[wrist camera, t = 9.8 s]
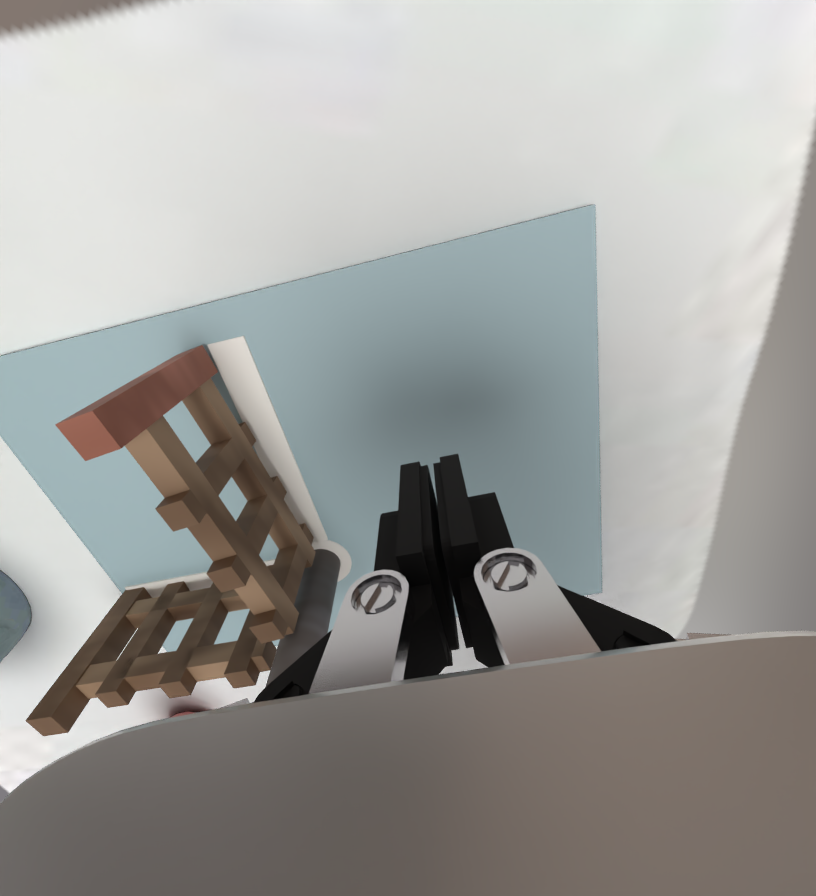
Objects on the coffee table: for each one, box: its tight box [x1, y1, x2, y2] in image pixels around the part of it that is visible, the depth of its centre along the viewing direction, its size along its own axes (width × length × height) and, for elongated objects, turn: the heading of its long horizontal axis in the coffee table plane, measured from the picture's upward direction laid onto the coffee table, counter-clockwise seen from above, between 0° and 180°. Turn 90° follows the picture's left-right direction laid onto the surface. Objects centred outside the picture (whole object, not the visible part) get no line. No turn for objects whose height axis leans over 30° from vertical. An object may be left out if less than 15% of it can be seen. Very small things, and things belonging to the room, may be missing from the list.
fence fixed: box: [26, 549, 341, 736], centre depth 20 cm, size 13×2×8 cm, turn 103°
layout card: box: [0, 205, 602, 652], centre depth 21 cm, size 20×27×1 cm
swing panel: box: [55, 345, 316, 644], centre depth 17 cm, size 11×1×7 cm, turn 20°
